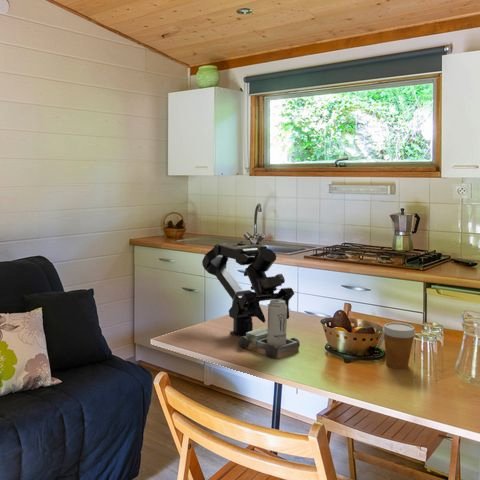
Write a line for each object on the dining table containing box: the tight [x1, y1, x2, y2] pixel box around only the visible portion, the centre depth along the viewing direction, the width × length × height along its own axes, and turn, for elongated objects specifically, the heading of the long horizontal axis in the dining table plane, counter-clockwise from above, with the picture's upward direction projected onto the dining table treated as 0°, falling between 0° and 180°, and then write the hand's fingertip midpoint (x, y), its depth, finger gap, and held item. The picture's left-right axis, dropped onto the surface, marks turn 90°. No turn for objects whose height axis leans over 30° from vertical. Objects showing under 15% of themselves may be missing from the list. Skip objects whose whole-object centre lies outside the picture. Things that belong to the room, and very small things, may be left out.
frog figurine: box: [376, 332, 385, 349], centre depth 176 cm, size 6×7×7 cm
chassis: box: [237, 328, 301, 360], centre depth 174 cm, size 17×12×4 cm
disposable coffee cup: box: [382, 322, 416, 370], centre depth 161 cm, size 10×10×12 cm
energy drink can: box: [267, 299, 288, 347], centre depth 170 cm, size 6×6×15 cm
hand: (276, 320), depth 171 cm, fingers open, 9 cm apart
